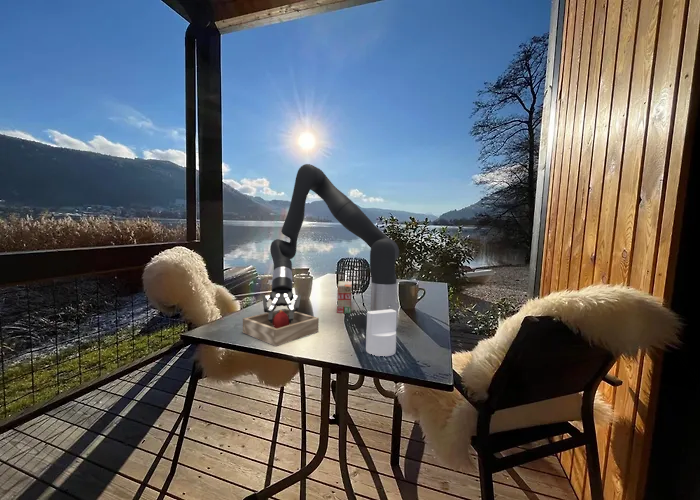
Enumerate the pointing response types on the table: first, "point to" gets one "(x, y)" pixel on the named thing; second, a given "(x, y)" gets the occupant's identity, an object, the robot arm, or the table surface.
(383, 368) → the table surface
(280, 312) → the onion
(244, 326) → the wooden box
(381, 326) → the cylinder with rectangular tab
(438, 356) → the table surface
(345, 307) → the cardboard carton
